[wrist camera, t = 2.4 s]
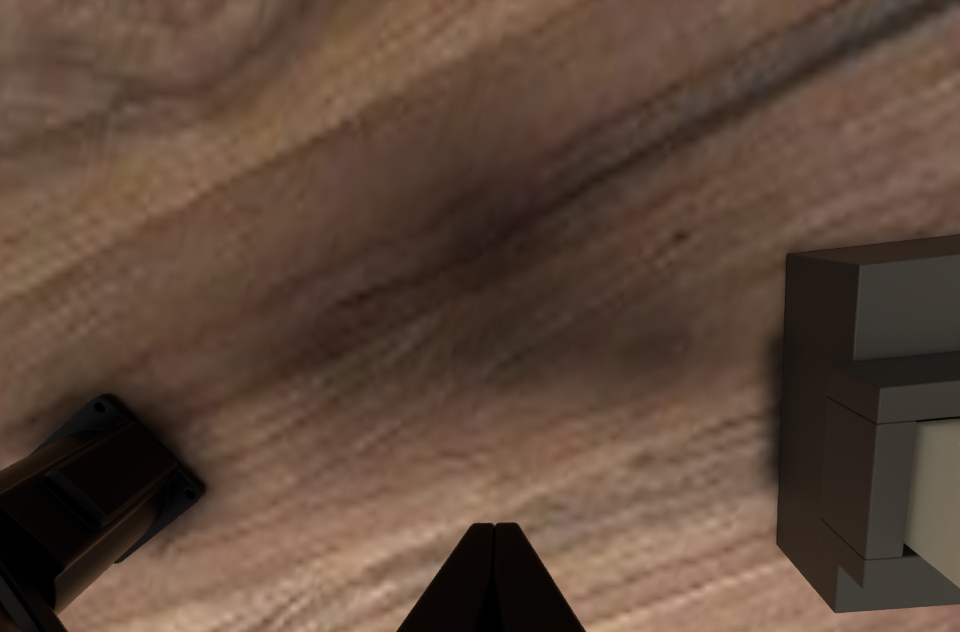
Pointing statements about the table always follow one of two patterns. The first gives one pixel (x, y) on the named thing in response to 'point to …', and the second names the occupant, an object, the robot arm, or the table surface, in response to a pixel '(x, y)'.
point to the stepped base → (865, 414)
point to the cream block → (936, 496)
